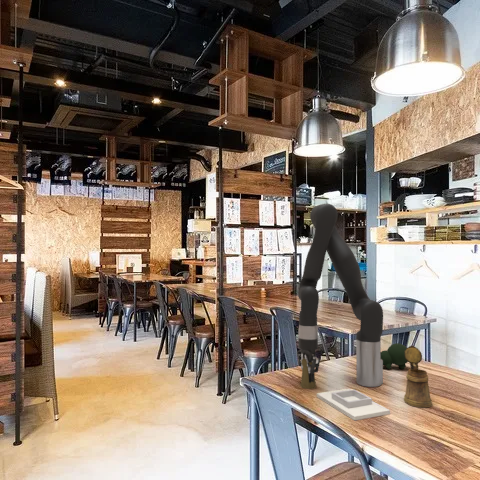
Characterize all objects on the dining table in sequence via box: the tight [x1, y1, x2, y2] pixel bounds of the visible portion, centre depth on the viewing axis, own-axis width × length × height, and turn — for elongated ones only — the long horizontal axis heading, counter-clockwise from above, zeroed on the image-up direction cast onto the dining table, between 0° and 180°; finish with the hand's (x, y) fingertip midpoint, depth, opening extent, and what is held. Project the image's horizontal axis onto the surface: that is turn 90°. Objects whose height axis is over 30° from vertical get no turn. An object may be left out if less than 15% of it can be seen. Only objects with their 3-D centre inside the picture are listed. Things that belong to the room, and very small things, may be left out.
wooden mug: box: [403, 344, 433, 409], centre depth 148 cm, size 9×14×18 cm, turn 170°
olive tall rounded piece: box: [299, 358, 317, 390], centre depth 163 cm, size 6×6×11 cm
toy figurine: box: [381, 342, 409, 370], centre depth 187 cm, size 9×19×25 cm
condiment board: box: [316, 388, 391, 421], centre depth 144 cm, size 14×22×3 cm, turn 22°
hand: (308, 380), depth 163 cm, fingers closed on olive tall rounded piece, 4 cm apart
